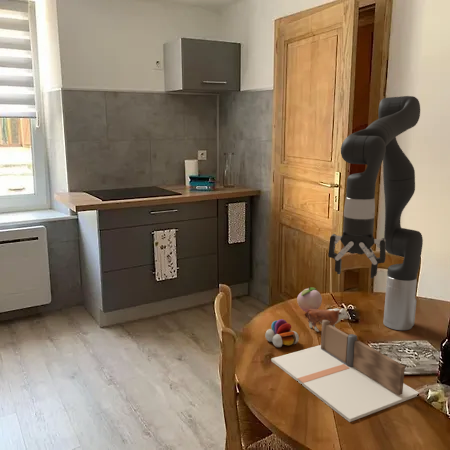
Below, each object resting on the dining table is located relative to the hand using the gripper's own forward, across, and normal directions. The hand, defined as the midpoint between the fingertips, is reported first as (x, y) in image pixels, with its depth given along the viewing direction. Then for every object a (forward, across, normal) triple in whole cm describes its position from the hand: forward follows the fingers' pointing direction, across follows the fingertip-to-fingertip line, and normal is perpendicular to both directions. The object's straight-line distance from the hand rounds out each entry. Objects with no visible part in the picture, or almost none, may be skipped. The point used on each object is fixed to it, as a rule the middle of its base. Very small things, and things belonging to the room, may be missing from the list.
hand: (355, 275), depth 125 cm
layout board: (+28, +2, +4) cm, 28 cm away
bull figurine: (+28, +10, -24) cm, 38 cm away
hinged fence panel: (+26, -7, +4) cm, 28 cm away
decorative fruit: (+28, +19, -36) cm, 49 cm away
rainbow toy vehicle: (+28, +22, -10) cm, 37 cm away
